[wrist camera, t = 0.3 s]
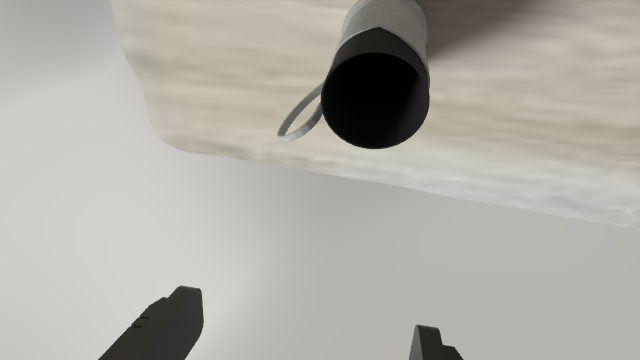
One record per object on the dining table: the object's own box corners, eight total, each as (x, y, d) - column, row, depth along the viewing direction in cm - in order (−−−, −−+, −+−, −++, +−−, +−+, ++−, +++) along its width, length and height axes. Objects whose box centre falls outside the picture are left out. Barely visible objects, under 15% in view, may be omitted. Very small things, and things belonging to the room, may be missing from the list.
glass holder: (441, 53, 35) (459, 128, 24) (327, 112, 42) (298, 192, 30) (404, -31, 31) (404, 10, 20) (284, 49, 38) (233, 113, 26)
